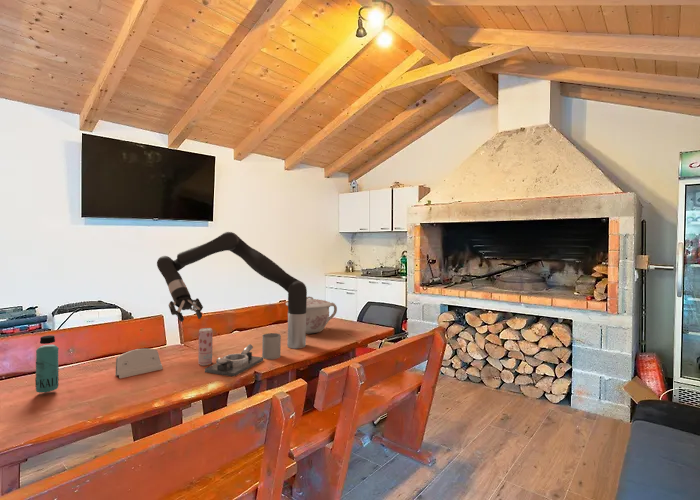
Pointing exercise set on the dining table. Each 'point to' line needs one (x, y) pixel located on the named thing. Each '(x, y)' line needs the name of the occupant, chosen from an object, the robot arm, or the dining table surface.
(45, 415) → the dining table surface
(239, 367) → the base
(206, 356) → the beverage can
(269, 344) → the cup
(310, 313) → the chamber pot
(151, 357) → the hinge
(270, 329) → the dining table surface
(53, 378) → the beverage bottle
